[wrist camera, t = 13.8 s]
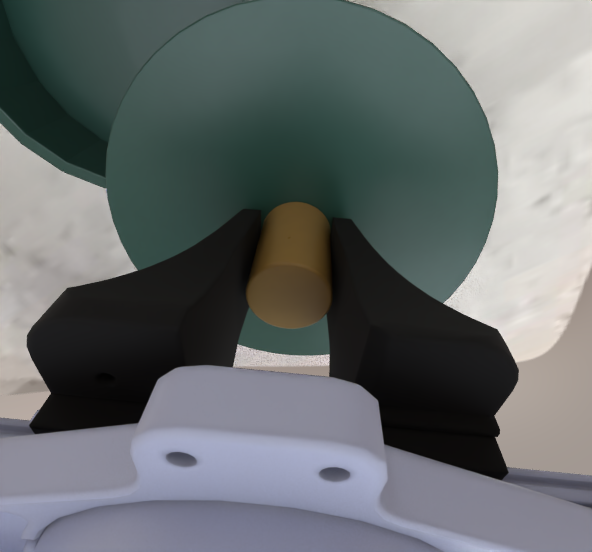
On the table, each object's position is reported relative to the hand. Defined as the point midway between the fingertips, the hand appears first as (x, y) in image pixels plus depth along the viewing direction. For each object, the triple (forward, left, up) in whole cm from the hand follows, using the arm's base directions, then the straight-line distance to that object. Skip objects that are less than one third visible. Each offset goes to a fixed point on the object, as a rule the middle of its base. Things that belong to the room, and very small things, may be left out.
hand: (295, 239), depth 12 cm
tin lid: (0, 0, -1) cm, 1 cm away
